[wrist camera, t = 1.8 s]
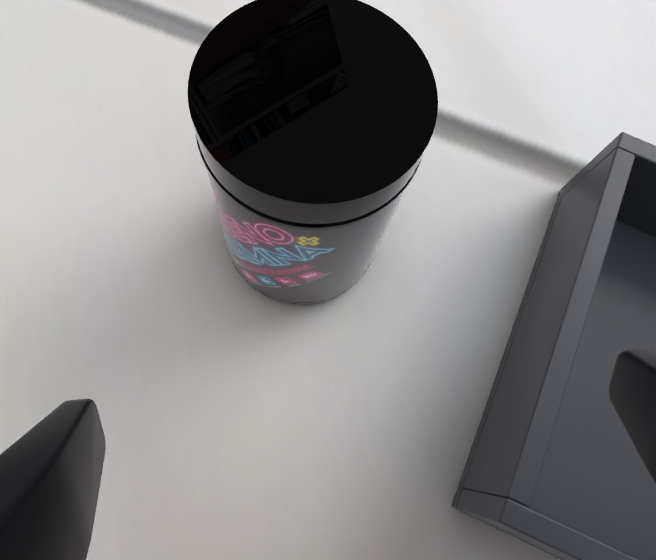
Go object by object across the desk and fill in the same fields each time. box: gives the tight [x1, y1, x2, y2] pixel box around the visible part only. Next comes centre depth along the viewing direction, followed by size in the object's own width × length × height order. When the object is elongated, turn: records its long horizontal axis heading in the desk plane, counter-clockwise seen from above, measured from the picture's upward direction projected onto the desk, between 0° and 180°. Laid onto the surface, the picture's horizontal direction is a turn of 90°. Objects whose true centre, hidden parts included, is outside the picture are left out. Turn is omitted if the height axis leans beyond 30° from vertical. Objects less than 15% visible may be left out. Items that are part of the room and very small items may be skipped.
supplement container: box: [188, 0, 438, 304], centre depth 19 cm, size 7×7×10 cm
